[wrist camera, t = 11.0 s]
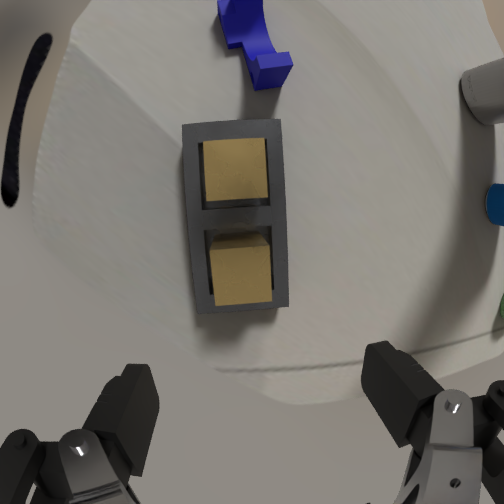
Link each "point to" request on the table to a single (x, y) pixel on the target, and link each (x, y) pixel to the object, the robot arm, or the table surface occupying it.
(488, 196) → the beverage can
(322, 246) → the table surface
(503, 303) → the ramekin
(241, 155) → the beige cube
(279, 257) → the grey flat open box
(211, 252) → the wooden toy block
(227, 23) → the cable clip
